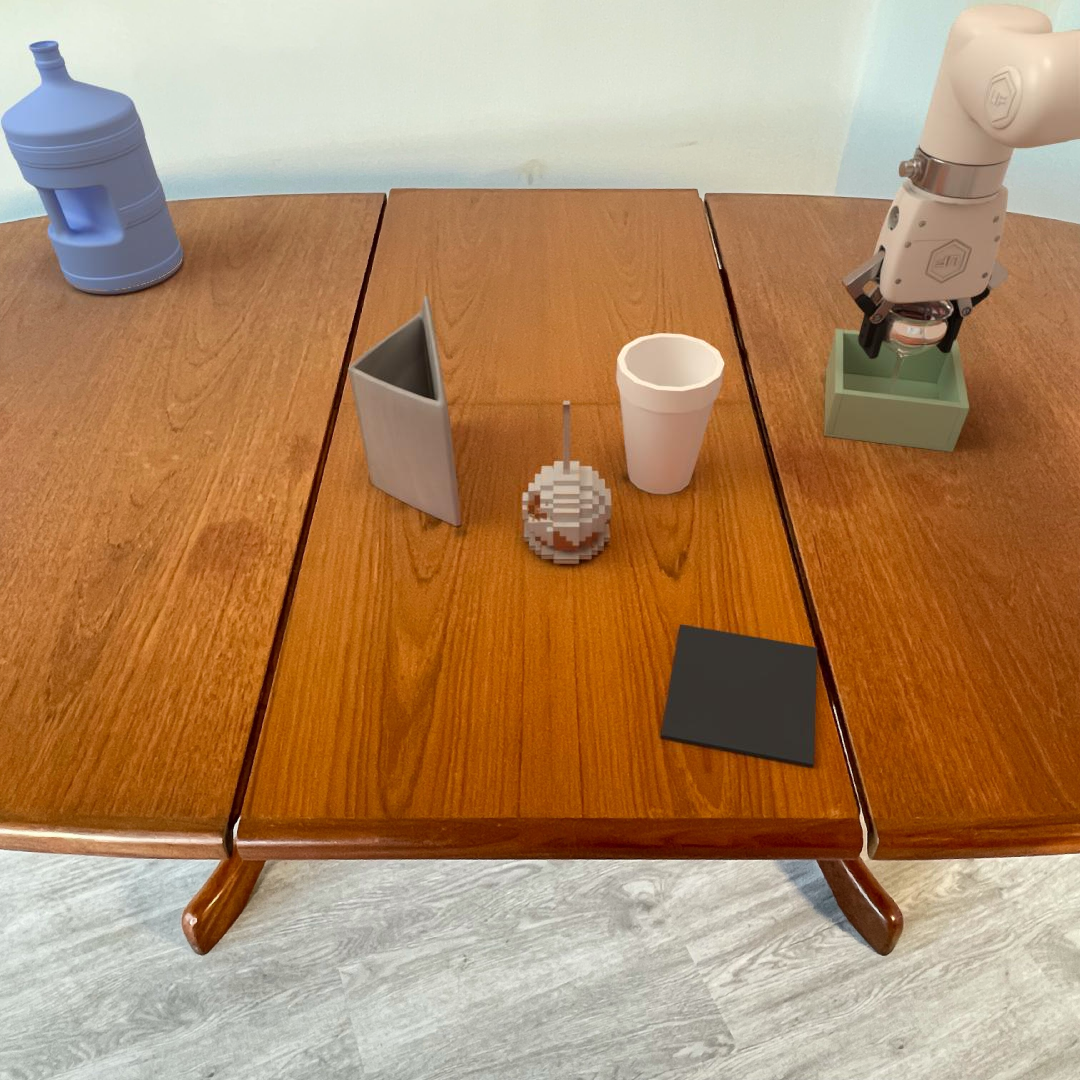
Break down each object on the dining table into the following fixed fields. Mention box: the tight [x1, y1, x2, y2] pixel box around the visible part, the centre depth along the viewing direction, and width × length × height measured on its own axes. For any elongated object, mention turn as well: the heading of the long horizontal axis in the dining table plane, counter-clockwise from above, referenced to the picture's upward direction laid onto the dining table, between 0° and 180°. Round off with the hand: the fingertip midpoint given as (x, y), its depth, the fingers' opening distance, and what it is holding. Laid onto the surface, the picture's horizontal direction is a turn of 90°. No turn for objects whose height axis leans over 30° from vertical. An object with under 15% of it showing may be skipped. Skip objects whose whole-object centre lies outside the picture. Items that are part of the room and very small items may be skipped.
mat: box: [660, 624, 818, 768], centre depth 68 cm, size 11×11×1 cm
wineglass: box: [880, 296, 953, 395], centre depth 90 cm, size 7×7×12 cm
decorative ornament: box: [521, 400, 612, 565], centre depth 76 cm, size 8×8×15 cm
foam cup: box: [615, 332, 726, 495], centre depth 83 cm, size 10×9×13 cm
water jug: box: [0, 40, 184, 295], centre depth 112 cm, size 16×16×28 cm
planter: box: [347, 295, 462, 527], centre depth 81 cm, size 16×8×19 cm, turn 12°
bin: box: [823, 328, 970, 453], centre depth 92 cm, size 13×13×5 cm
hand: (904, 347), depth 89 cm, fingers closed on wineglass, 6 cm apart
